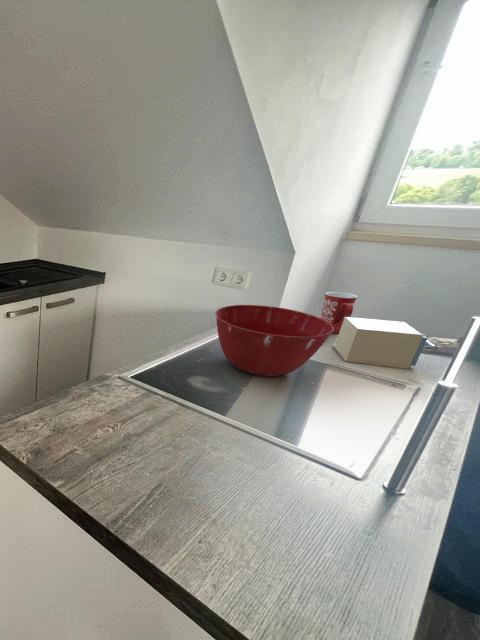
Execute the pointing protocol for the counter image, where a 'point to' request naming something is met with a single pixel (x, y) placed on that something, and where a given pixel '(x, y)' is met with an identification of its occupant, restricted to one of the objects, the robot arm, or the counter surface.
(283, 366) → the mixing bowl
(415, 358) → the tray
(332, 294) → the mug
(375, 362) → the beige rectangular block
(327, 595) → the counter surface
